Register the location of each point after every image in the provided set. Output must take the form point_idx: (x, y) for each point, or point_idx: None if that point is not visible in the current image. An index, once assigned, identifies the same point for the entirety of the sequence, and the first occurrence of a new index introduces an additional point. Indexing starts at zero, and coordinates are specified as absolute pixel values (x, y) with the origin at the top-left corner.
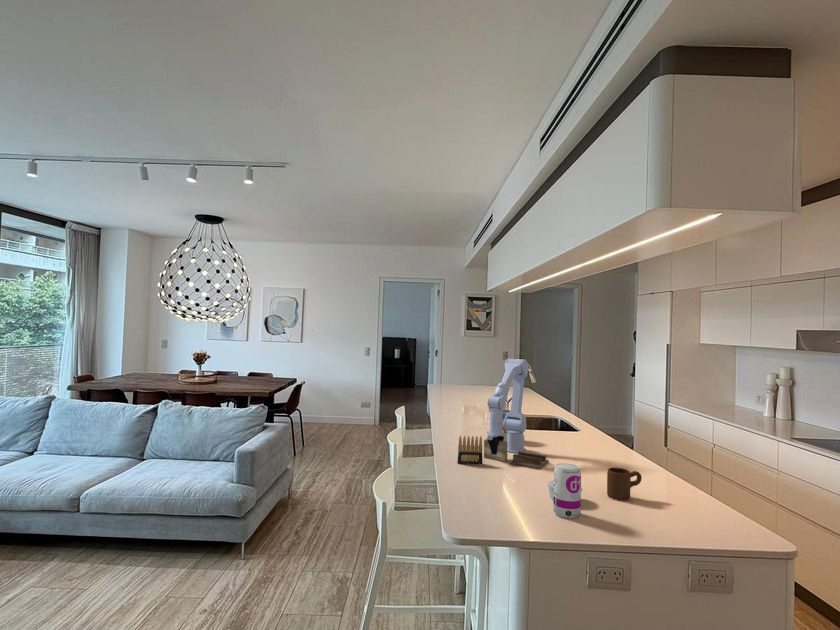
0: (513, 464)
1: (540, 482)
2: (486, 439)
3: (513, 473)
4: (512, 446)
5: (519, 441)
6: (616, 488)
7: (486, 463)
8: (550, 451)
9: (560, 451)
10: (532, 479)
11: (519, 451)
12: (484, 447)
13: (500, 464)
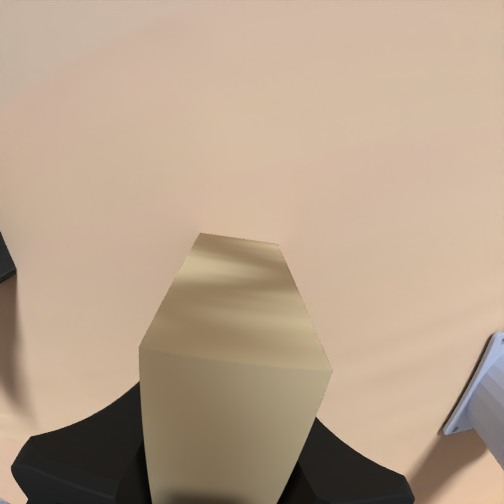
0: None
1: (11, 493)
2: (232, 388)
3: (7, 445)
4: (490, 414)
5: (500, 465)
6: None
7: (35, 306)
8: (481, 478)
9: (479, 491)
10: (13, 483)
11: None
12: (178, 282)
13: (83, 401)
